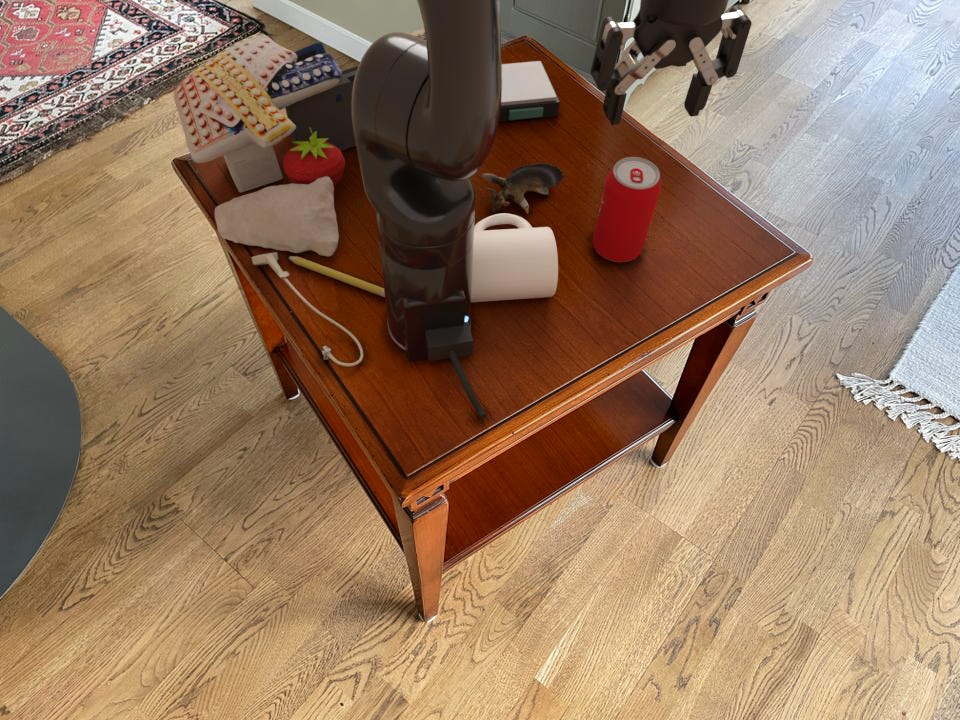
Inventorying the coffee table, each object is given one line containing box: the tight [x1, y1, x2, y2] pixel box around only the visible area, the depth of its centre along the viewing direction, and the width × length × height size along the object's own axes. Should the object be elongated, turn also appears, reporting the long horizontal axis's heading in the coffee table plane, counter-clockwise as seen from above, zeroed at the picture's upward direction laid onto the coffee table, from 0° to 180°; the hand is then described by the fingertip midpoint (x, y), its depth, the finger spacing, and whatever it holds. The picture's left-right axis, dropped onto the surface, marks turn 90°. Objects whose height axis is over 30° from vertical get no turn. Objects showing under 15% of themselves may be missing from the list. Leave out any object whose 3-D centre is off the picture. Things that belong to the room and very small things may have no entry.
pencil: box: [285, 255, 385, 298], centre depth 83 cm, size 1×14×1 cm, turn 67°
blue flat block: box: [293, 41, 342, 102], centre depth 94 cm, size 7×14×1 cm
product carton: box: [223, 142, 284, 194], centre depth 90 cm, size 6×6×7 cm
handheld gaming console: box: [285, 65, 359, 152], centre depth 95 cm, size 23×3×10 cm, turn 124°
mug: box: [471, 212, 559, 303], centre depth 81 cm, size 12×10×8 cm
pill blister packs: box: [173, 33, 342, 164], centre depth 85 cm, size 21×6×15 cm
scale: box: [499, 60, 561, 123], centre depth 104 cm, size 10×10×3 cm
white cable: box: [251, 251, 364, 368], centre depth 80 cm, size 5×3×20 cm
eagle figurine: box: [481, 162, 566, 214], centre depth 90 cm, size 8×7×9 cm
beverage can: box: [592, 156, 662, 263], centre depth 83 cm, size 6×6×12 cm
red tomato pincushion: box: [282, 128, 346, 188], centre depth 87 cm, size 6×8×10 cm
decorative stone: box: [214, 176, 340, 258], centre depth 85 cm, size 10×4×15 cm
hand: (652, 115), depth 72 cm, fingers open, 8 cm apart
